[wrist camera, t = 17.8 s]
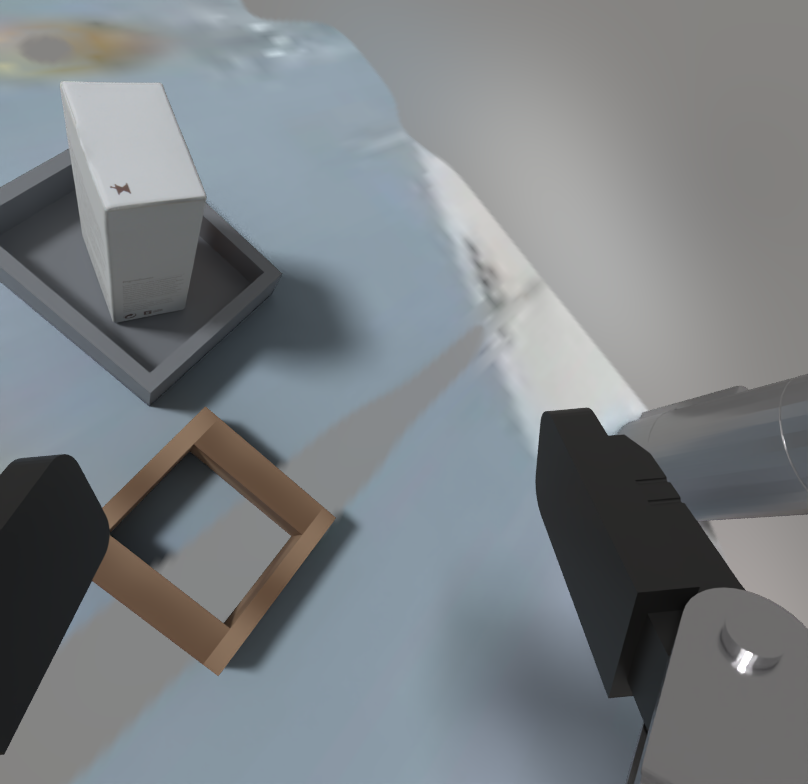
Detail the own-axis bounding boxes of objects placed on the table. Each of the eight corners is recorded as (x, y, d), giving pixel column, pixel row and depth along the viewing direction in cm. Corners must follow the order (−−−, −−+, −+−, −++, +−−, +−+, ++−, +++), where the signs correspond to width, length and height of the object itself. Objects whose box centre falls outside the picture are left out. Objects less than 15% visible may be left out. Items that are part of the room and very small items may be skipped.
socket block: (200, 416, 33) (205, 406, 30) (323, 520, 34) (336, 518, 32) (62, 553, 28) (56, 553, 26) (212, 667, 29) (218, 675, 27)
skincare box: (187, 310, 33) (210, 200, 23) (112, 325, 31) (101, 212, 21) (155, 223, 34) (163, 78, 24) (80, 232, 32) (53, 77, 22)
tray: (119, 153, 35) (118, 120, 32) (271, 293, 37) (282, 273, 34) (-40, 248, 29) (-57, 219, 27) (149, 406, 32) (150, 392, 29)
